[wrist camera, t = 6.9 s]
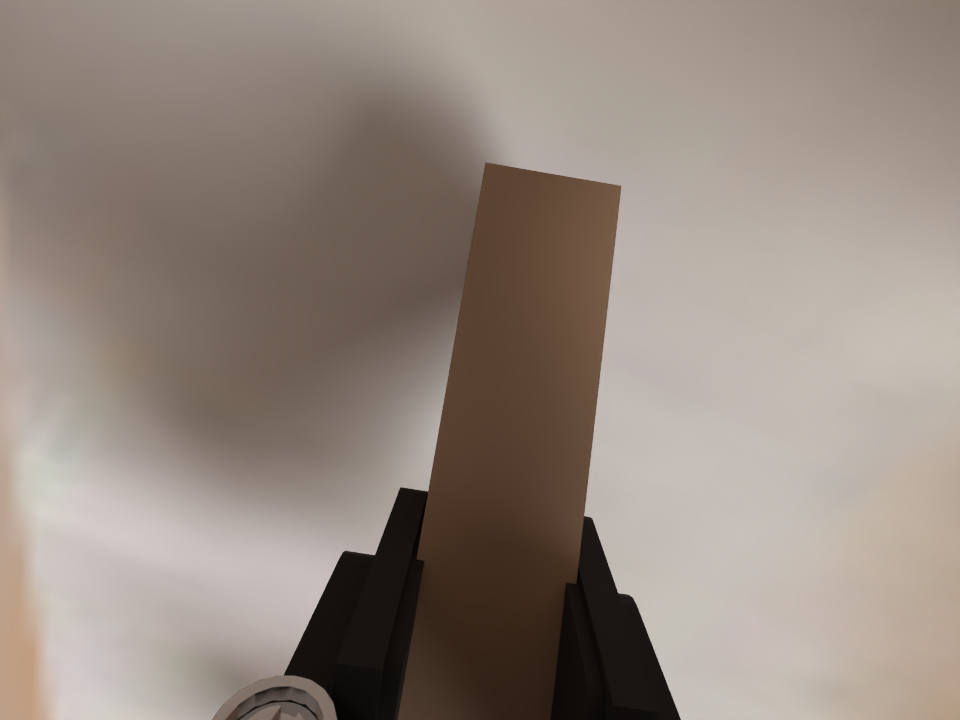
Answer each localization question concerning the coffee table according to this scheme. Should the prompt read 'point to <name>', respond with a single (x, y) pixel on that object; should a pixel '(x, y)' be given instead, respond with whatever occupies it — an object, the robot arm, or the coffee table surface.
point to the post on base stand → (512, 450)
